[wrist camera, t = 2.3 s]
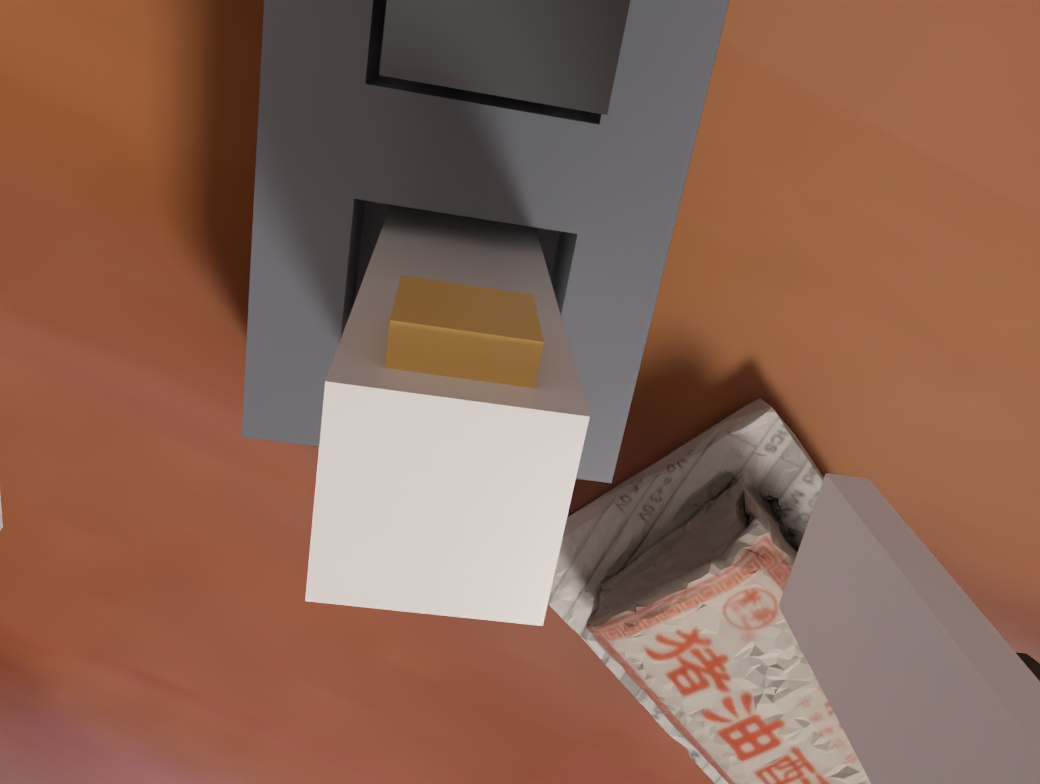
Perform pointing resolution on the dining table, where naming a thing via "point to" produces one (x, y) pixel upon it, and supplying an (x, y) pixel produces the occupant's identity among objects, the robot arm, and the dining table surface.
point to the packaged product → (710, 602)
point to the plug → (448, 428)
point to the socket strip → (462, 195)
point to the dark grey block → (509, 47)
